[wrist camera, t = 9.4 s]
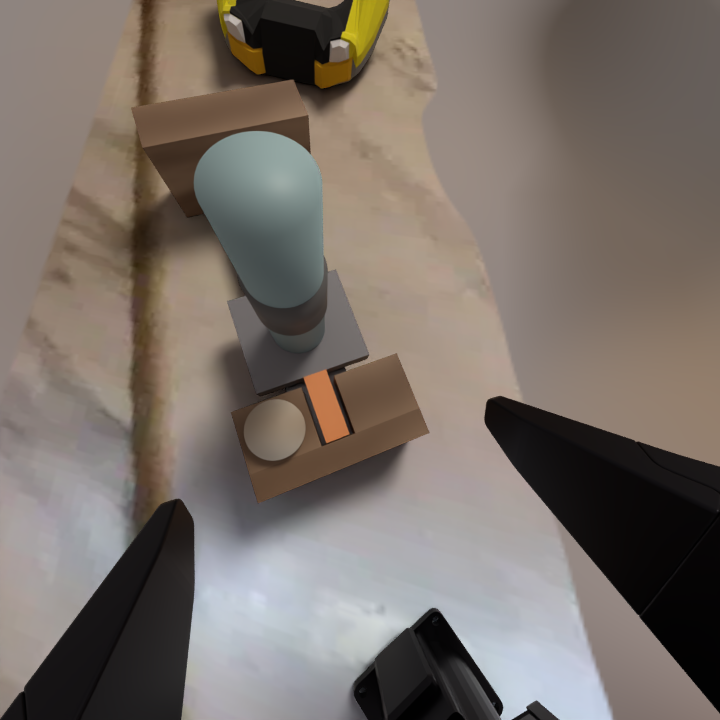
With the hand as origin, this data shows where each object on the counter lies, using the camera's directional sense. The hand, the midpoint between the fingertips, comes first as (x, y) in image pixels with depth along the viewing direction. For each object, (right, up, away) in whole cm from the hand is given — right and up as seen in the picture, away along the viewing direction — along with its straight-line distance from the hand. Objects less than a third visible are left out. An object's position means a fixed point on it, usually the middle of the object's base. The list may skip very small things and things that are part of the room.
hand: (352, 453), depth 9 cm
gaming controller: (-5, +32, +21) cm, 38 cm away
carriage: (-4, +4, +11) cm, 13 cm away
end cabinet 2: (-2, -2, +13) cm, 13 cm away
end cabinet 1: (-9, +17, +16) cm, 25 cm away
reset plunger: (-2, 0, +11) cm, 11 cm away
